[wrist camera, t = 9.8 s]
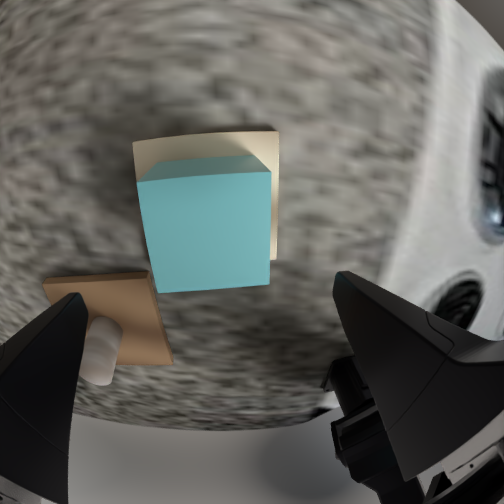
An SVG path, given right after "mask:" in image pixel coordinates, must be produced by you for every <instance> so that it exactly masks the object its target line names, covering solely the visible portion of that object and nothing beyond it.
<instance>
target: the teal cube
mask: <svg viewBox="0 0 504 504" xmlns="http://www.w3.org/2000/svg"><path fill="white" fill-rule="evenodd" d="M271 175H272V172H271V171H270V170H269V169H268V168H267V167H266V166H265V165H264V164H263V163H262V162H261V161H260V160H259V159H258V158H257V157H256V156H255V155H246V156H225V157H209V158H196V159H185V160H175V161H166V162H158V163H156V164H155V165H154V166H153V167H152V168H151V169H150V170H149V171H148V172H147V173H146V174H145V175H144V176H143V177H142V178H141V179H140V180H139V181H138V182H137V189H138V196H139V203H140V209H141V215H142V221H143V226H144V232H145V237H146V242H147V247H148V252H149V257H150V261H151V266H152V270H153V275H154V279H155V283H156V287H157V291H158V293H167V292H183V291H197V290H210V289H222V288H234V287H245V286H256V285H266V284H269V277H270V237H271Z"/></svg>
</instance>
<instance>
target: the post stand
mask: <svg viewBox="0 0 504 504" xmlns="http://www.w3.org/2000/svg"><path fill="white" fill-rule="evenodd" d="M42 286H43V288H44V290H45V292H46V295H47V297H48V299H49V301H50V303H51V305H53V304H55V303H56V302H57V301H59V300H60V299H61V298H63V297H64V296H66V295H67V294H68V293H71V292H79V293H80V294H81V295H82V297H83V300H84V302H85V304H86V307H87V309H88V313H89V318H88V324H87V330H86V337H85V344H84V351H83V356H82V361H81V366H80V371H79V375H80V376H81V377H82V378H83V379H85V380H87V381H88V382H90V383H93V384H96V385H108V384H110V383H111V381H112V377H113V372H114V368H115V365H173V354H172V351H171V348H170V345H169V342H168V339H167V336H166V333H165V329H164V326H163V323H162V319H161V316H160V312H159V309H158V305H157V301H156V298H155V294H154V290H153V286H152V282H151V278H150V274H149V271H142V272H128V273H113V274H99V275H83V276H67V277H51V278H46V279H45V281H44V282H43V284H42Z"/></svg>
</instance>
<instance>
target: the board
mask: <svg viewBox="0 0 504 504" xmlns="http://www.w3.org/2000/svg"><path fill="white" fill-rule="evenodd" d="M132 145H133V155H134V164H135V172H136V180H137V182H138V181H139V180H140V179H141V178H142V177H143V176H144V175H145V174H146V173H147V172H148V171H149V170H150V169H151V168H152V167H153V166H154V165H155V164H156V163H158V162H166V161H175V160H185V159H196V158H209V157H225V156H246V155H255V156H256V157H257V158H258V159H259V160H260V161H261V162H262V163H263V164H264V165H265V166H266V167H267V168H268V169H269V170H270V171H271V172H272V175H271V237H270V260H274V259H276V251H277V220H278V177H279V132H278V131H239V132H218V133H203V134H191V135H181V136H171V137H163V138H155V139H148V140H141V141H135V142H132Z"/></svg>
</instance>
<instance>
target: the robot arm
mask: <svg viewBox="0 0 504 504" xmlns="http://www.w3.org/2000/svg"><path fill="white" fill-rule="evenodd" d="M333 298H334V301H335V304H336V307H337V310H338V313H339V316H340V319H341V322H342V326H343V328H344V331H345V334H346V336H347V338H348V341H349V343H350V345H351V347H352V349H353V352H354V354H355V356H353V357H348V358H344V359H340V360H336V361H334V362H332V364H331V367H330V370H329V373H328V376H327V379H326V382H325V385H324V388H323V390H324V392H330V391H334V392H335V394H336V397H337V399H338V401H339V404H340V406H341V409H342V411H343V414H344V416H345V417H343V418H341V419H339V420H337V421H333V422H331V431H332V437H333V441H334V446H335V456H336V459H338V460H340V461H341V462H342V464H343V465H344V466H345V467H347V468H349V471H350V475H351V478H352V479H353V480H355V481H356V482H357V483H362V484H364V485H366V486H367V487H369V488H370V489H372V490H374V491H375V492H376V493H377V495H378V497H379V500H380V503H381V504H504V340H501V341H492V340H487V339H484V338H482V337H480V336H478V335H475V334H473V333H471V332H469V331H467V330H464V329H462V328H460V327H458V326H456V325H453V324H451V323H449V322H447V321H445V320H443V319H441V318H439V317H437V316H435V315H433V314H431V313H430V312H428V311H425V310H424V309H422V308H420V307H418V306H416V305H414V304H412V303H411V302H409V301H407V300H405V299H403V298H401V297H399V296H397V295H395V294H393V293H391V292H389V291H387V290H385V289H383V288H381V287H379V286H378V285H376V284H374V283H372V282H370V281H368V280H366V279H364V278H362V277H360V276H358V275H356V274H354V273H352V272H350V271H339V272H337V273H336V276H335V281H334V286H333ZM88 318H89V313H88V309H87V307H86V304H85V302H84V300H83V297H82V295H81V294H80V293H79V292H71V293H68V294H67V295H66V296H64V297H63V298H61V299H60V300H59V301H57V302H56V303H55V304H53V305H52V306H51V307H49V308H48V309H47V310H45V311H44V312H43V313H41V314H40V315H39V316H37V317H36V318H35V319H34V320H32V321H31V322H30V323H28V324H27V325H26V326H25V327H23V328H22V329H21V330H20V331H18V332H17V333H16V334H15V335H13V336H12V337H11V338H10V339H9V340H7V341H6V343H4V344H3V345H1V346H0V504H41V499H42V498H44V499H46V500H49V501H51V502H54V503H57V504H68V458H69V457H68V455H69V440H70V430H71V421H72V413H73V405H74V399H75V392H76V387H77V381H78V376H79V371H80V366H81V361H82V356H83V351H84V344H85V337H86V330H87V324H88ZM439 462H441V464H442V466H443V468H444V471H442V472H441V473H439V474H437V475H436V476H434V477H433V479H432V481H431V484H430V486H429V489H428V492H427V494H426V492H425V490H424V487H423V485H422V482H421V480H420V478H419V474H421V473H422V472H424V471H426V470H428V469H429V468H431V467H433V466H434V465H436V464H438V463H439Z"/></svg>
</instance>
